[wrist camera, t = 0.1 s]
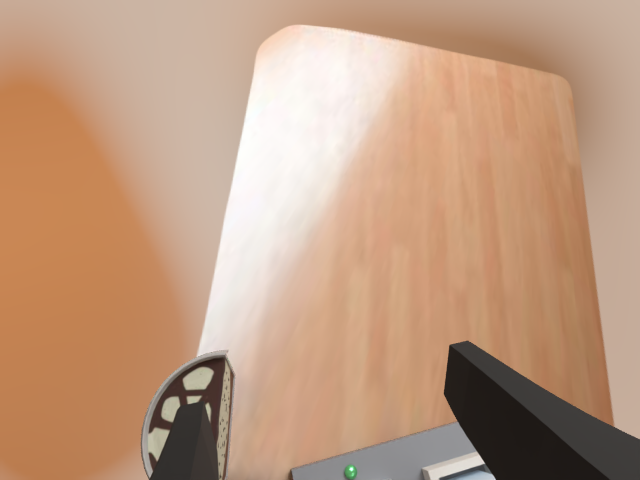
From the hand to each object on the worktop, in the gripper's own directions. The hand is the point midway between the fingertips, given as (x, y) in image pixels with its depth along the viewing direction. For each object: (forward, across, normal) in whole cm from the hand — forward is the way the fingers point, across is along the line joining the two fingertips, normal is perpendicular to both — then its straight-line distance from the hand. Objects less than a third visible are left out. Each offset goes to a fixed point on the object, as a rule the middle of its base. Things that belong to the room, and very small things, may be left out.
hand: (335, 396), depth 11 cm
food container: (+22, +9, +24) cm, 34 cm away
